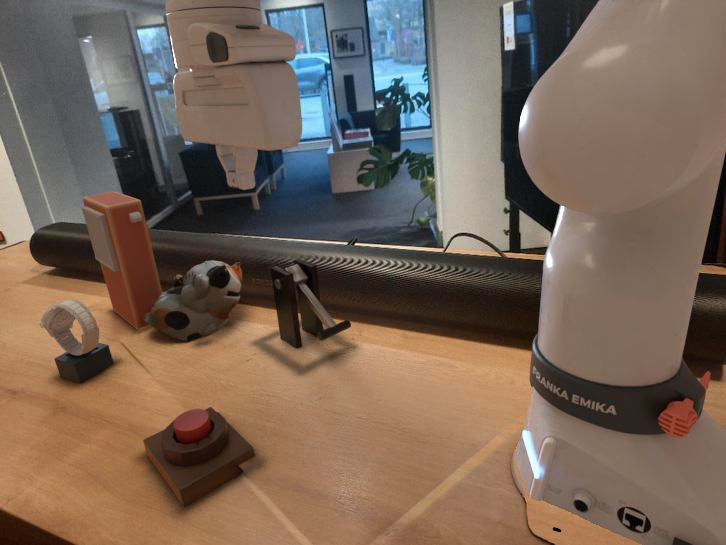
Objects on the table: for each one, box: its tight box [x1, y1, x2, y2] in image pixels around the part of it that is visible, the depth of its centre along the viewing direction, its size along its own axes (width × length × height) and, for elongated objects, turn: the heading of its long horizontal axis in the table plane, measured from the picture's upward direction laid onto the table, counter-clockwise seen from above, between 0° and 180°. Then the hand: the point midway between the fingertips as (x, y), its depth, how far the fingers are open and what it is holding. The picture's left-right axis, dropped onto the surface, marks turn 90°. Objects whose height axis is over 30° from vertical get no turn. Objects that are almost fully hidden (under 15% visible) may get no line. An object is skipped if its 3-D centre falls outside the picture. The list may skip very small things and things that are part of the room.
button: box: [173, 408, 212, 444], centre depth 52 cm, size 4×4×2 cm
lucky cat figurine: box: [143, 260, 243, 342], centre depth 81 cm, size 15×12×14 cm
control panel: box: [81, 190, 163, 330], centre depth 85 cm, size 21×7×15 cm
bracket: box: [270, 258, 324, 350], centre depth 73 cm, size 12×9×13 cm
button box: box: [142, 406, 256, 508], centre depth 53 cm, size 10×8×4 cm
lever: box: [284, 264, 352, 342], centre depth 69 cm, size 12×5×2 cm
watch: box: [39, 298, 115, 384], centre depth 70 cm, size 6×8×11 cm
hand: (242, 187), depth 53 cm, fingers closed
